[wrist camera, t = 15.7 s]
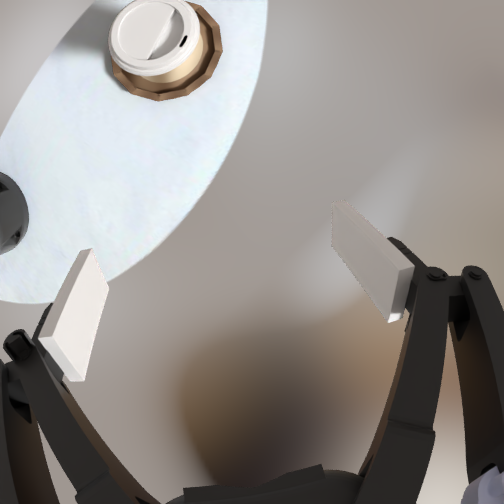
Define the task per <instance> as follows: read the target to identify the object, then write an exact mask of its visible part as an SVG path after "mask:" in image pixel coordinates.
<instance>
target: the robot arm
mask: <svg viewBox="0 0 504 504" xmlns="http://www.w3.org/2000/svg"><path fill="white" fill-rule="evenodd" d="M28 223H29V213H28V207H27V203H26V200H25V197H24V195H23V193H22V191H21V190H20V188H19V187H18V185H17V184H16V183H15V182H14V181H13V180H12V179H11V178H10V177H8V176H7V175H5V174H3V173H0V255H1V254H3V253H6V252H8V251H10V250H12V249H13V248H15V247H16V246H17V245H18V244H19V242H20V241H21V240H22V239H23V238H24V236H25V234H26V232H27V228H28ZM332 247H333V248H334V250H335V251H336V252H337V253H338V255H339V256H340V258H341V259H342V260H343V262H344V263H345V264H346V266H347V267H348V268H349V270H350V271H351V272H352V274H353V275H354V276H355V278H356V279H357V280H358V282H359V283H360V284H361V286H362V287H363V288H364V290H365V291H366V293H367V294H368V295H369V297H370V298H371V299H372V301H373V302H374V304H375V305H376V306H377V308H378V309H379V311H380V312H381V314H382V315H383V317H384V318H385V320H386V321H387V322H388V323H389V322H392V321H395V320H398V319H401V318H403V314H404V310H405V308H406V309H407V310H408V312H409V313H410V315H409V318H408V322H407V325H406V328H405V336H404V341H403V345H402V349H401V353H400V357H399V361H398V364H397V368H396V372H395V376H394V379H393V383H392V386H391V389H390V393H389V396H388V399H387V402H386V405H385V408H384V411H383V414H382V417H381V420H380V423H379V425H378V428H377V431H376V433H375V436H374V439H373V441H372V444H371V447H370V449H369V451H368V454H367V456H366V458H365V460H364V462H363V464H362V466H361V468H360V470H359V473H358V475H356V474H354V473H350V472H346V471H340V470H323V468H322V465H321V464H319V465H316V466H312V467H308V468H305V469H301V470H297V471H293V472H289V473H286V474H284V475H282V476H280V477H278V478H275V479H273V480H271V481H269V482H267V483H264V484H262V485H260V486H257V487H254V488H244V487H230V486H220V485H213V486H203V487H190V488H183V491H184V495H182V496H179V497H177V498H175V499H173V500H171V501H169V502H167V503H166V504H416V501H417V498H418V495H419V493H420V490H421V487H422V483H423V480H424V477H425V474H426V471H427V468H428V464H429V461H430V457H431V453H432V450H433V446H434V441H435V431H433V423H434V418H435V413H436V408H437V403H438V398H439V392H440V386H441V380H442V373H443V366H444V358H445V349H446V339H447V326H448V324H449V328H450V333H451V337H452V342H453V347H454V352H455V358H456V363H457V369H458V375H459V382H460V389H461V397H462V406H463V416H464V428H465V444H466V466H467V475H468V481H469V486H468V487H467V488H466V490H465V492H464V495H463V499H462V500H461V504H504V311H503V308H502V306H501V303H500V301H499V299H498V297H497V294H496V292H495V290H494V288H493V285H492V283H491V281H490V279H489V277H488V275H487V273H486V272H485V271H484V270H482V269H481V268H479V267H477V266H466V267H464V269H463V270H462V274H461V276H448V274H447V273H446V272H445V271H443V270H442V269H440V268H437V267H427V266H426V265H425V264H424V263H423V262H422V261H421V260H420V259H419V258H418V257H417V256H416V255H415V254H414V253H412V251H410V250H409V249H408V248H407V247H406V246H405V245H404V244H403V243H402V242H401V241H399V240H397V239H395V238H393V237H389V238H386V237H385V236H384V235H383V234H381V233H380V232H379V231H378V230H377V229H376V228H375V227H374V226H373V225H372V224H371V223H370V222H369V221H367V220H366V219H365V218H364V217H363V216H362V215H361V214H360V213H359V212H357V211H356V210H355V209H354V208H353V207H352V206H351V205H349V204H348V203H347V202H346V201H345V200H343V201H336V202H332ZM108 291H109V287H108V285H107V283H106V280H105V278H104V276H103V273H102V271H101V269H100V266H99V264H98V262H97V259H96V257H95V254H94V252H93V249H92V248H91V249H86V250H82V251H80V252H79V254H78V256H77V258H76V260H75V262H74V263H73V265H72V267H71V269H70V271H69V273H68V275H67V277H66V279H65V281H64V283H63V284H62V286H61V288H60V290H59V293H58V295H57V297H56V299H55V301H54V303H51V304H50V305H49V306H48V307H47V308H46V309H45V311H44V313H43V315H42V317H41V319H40V321H39V323H38V324H39V325H38V326H37V328H36V330H35V332H34V335H33V337H32V339H30V337H29V336H28V334H27V333H26V332H25V331H24V330H22V329H18V330H15V331H14V332H12V333H11V334H10V335H8V337H7V338H6V339H5V341H4V344H3V349H4V350H5V351H6V353H7V354H8V355H9V356H10V358H11V359H12V360H13V361H11V362H8V363H6V364H4V363H3V362H2V360H1V359H0V504H60V503H59V500H58V497H57V494H56V492H55V489H54V485H53V483H52V479H51V476H50V472H49V469H48V466H47V462H46V458H45V454H44V451H43V446H42V442H41V437H40V432H39V428H38V423H39V425H40V428H41V430H42V432H43V433H44V435H45V438H46V440H47V441H48V443H49V445H50V447H51V449H52V451H53V452H54V454H55V456H56V458H57V460H58V461H59V463H60V465H61V467H62V468H63V470H64V472H65V473H66V475H67V477H68V478H69V480H70V481H71V483H72V485H73V486H74V488H75V489H76V491H77V494H76V496H75V499H76V501H77V503H78V504H161V503H160V502H158V501H157V500H156V499H155V498H153V497H152V496H151V495H150V494H149V493H148V492H147V491H146V490H145V489H144V488H143V487H142V486H141V485H140V484H139V483H138V482H137V481H136V479H135V478H134V477H133V476H132V475H131V474H130V473H129V472H128V470H127V469H126V468H125V467H124V466H123V465H122V463H121V462H120V461H119V460H118V459H117V457H116V456H115V455H114V454H113V452H112V451H111V450H110V449H109V447H108V446H107V445H106V444H105V442H104V441H103V440H102V438H101V437H100V435H99V434H98V433H97V431H96V430H95V429H94V427H93V426H92V424H91V423H90V422H89V420H88V419H87V417H86V416H85V414H84V413H83V411H82V410H81V408H80V407H79V405H78V404H77V402H76V401H75V399H74V397H73V396H72V394H71V393H70V391H69V389H68V388H67V386H66V384H65V383H64V382H63V381H62V378H63V374H65V375H66V377H67V378H68V379H69V380H70V381H71V382H72V381H84V380H85V376H86V371H87V367H88V363H89V359H90V355H91V351H92V347H93V343H94V339H95V335H96V331H97V328H98V324H99V321H100V317H101V314H102V310H103V307H104V303H105V300H106V297H107V294H108ZM37 421H38V422H37Z"/></svg>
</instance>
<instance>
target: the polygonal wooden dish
mask: <svg viewBox="0 0 504 504" xmlns="http://www.w3.org/2000/svg"><path fill="white" fill-rule="evenodd" d="M185 2H186V1H185ZM187 3H188V4H189V5H190V6H191V7H192V8H193V9H194V11H195V13H196V14H197V17H198V20H199V24H200V35H199V39H198V42H197V45H196V47H195V49H194V51H193V52H192V54H191V55H190V56H189V57H188V58H187V59H186V60H185V61H184V62H183V63H182V64H181V65H179V66H178V67H176V68H175V69H173V70H171V71H169V72H166V73H163V74H160V75H155V76H140V75H135V74H132V73H129V72H127V71H125V70H124V69H122V68H121V67H120V66H119V65H118V64H117V63H116V62H115V61H114V59H113V58H112V56H111V61H112V67H113V74H114V76H115V77H116V78H117V79H118V80H119V81H120V82H121V83H122V84H123V85H124V86H125V88H126V89H127V90H128V91H129V92H130V93H131V94H133V95H137V96H141V97H144V98H148V99H151V100H155V101H163V100H168V99H174V98H178V97H182V96H187V95H189V94H190V93H191V92H192V91H194V90H195V89H197V88H198V87H200V86H201V85H202V84H203V83H204V82H205V81H207V80H208V79H209V78H211V76H212V74H213V72H214V70H215V68H216V66H217V64H218V61H219V58H220V56H221V54H222V52H223V50H222V43H221V35H220V28H219V25H218V24H217V22H216V21H215V20H214V19H213V18H212V17H211V16H210V15H209V14H208V13H207V11H206V10H205V9H204V8H203V7H202V6H200V5H197V4H193V3H190V2H187ZM110 54H111V53H110Z"/></svg>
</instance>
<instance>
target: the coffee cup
mask: <svg viewBox="0 0 504 504" xmlns="http://www.w3.org/2000/svg"><path fill="white" fill-rule="evenodd" d="M199 35H200V24H199V20H198V17H197V14H196V13H195V11H194V9H193V8H192V7H191V6H190V5H189V4H188V3H187V2H185V1H184V0H134V1H133V2H131V3H129V4H128V5H127V6H125V7H124V8H123V9H122V10H121V11H120V12H119V13H118V15H117V16H116V17H115V19H114V21H113V23H112V25H111V27H110V30H109V35H108V45H109V50H110V53H111V56H112V58H113V59H114V61H115V62H116V63H117V64H118V65H119V66H120V67H121V68H122V69H124V70H125V71H127V72H129V73H132V74H135V75H140V76H155V75H160V74H163V73H166V72H169V71H171V70H173V69H175V68H176V67H178V66H179V65H181V64H182V63H183V62H184V61H185V60H186V59H187V58H188V57H189V56H190V55H191V54H192V52H193V51H194V49H195V47H196V45H197V42H198V39H199Z"/></svg>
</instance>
